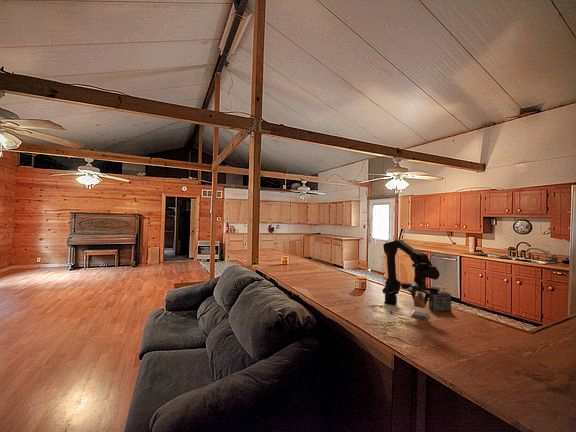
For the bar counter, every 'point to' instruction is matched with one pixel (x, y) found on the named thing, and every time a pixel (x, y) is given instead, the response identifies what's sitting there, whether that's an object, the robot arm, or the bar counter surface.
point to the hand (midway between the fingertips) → (420, 303)
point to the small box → (440, 302)
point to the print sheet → (403, 311)
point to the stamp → (419, 300)
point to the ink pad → (420, 315)
